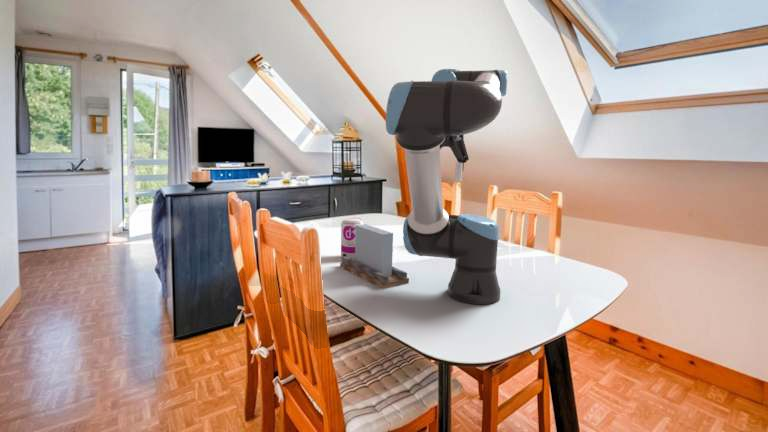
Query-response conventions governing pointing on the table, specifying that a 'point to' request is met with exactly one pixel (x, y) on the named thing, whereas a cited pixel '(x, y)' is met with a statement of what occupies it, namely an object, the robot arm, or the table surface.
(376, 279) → the floor track
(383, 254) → the sliding panel
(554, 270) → the table surface
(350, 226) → the supplement can
